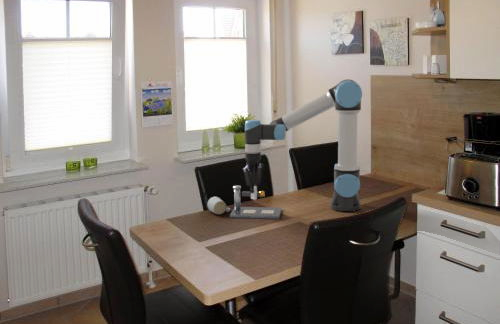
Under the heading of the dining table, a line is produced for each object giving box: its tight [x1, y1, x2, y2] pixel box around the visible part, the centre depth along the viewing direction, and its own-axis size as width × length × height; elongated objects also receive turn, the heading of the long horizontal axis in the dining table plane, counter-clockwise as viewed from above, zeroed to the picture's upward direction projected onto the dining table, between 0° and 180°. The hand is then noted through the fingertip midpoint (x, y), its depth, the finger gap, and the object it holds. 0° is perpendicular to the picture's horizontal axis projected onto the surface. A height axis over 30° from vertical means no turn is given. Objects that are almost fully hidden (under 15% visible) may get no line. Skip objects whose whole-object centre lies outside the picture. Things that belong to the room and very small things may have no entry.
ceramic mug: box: [207, 196, 231, 215], centre depth 260 cm, size 11×8×8 cm
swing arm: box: [241, 190, 265, 198], centre depth 259 cm, size 11×3×2 cm, turn 82°
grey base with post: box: [229, 184, 283, 220], centre depth 256 cm, size 24×14×13 cm, turn 82°
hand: (253, 199), depth 256 cm, fingers closed
